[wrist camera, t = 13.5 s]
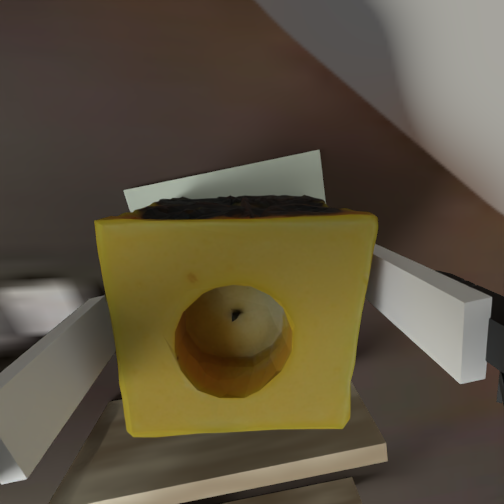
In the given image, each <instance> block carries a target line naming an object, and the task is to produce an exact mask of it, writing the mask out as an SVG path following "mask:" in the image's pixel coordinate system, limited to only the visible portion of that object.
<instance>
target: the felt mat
mask: <svg viewBox="0 0 504 504" xmlns="http://www.w3.org/2000/svg"><path fill="white" fill-rule="evenodd" d="M123 191H124V194H125V197H126V200H127V203H128V206H129V209H130V212H133V211H134V210H137V209H141V208H144V207H146V206H149V205H151V204H152V203H153V202H157V201H159V200H160V199H172V198H180V197H186V198H189V199H204V198H217V197H219V196H220V197H228V196H230V195H231V196H233V197H238V196H244V195H247V196H265V195H276V196H280V195H289V196H303V195H306V196H310V197H314V198H319V199H323V200H324V201H325V204H326V200H325V192H324V183H323V175H322V167H321V158H320V150H315V151H310V152H306V153H301V154H296V155H291V156H286V157H281V158H277V159H272V160H267V161H262V162H257V163H253V164H248V165H243V166H238V167H233V168H228V169H224V170H219V171H214V172H209V173H204V174H200V175H195V176H190V177H185V178H180V179H176V180H171V181H166V182H161V183H156V184H151V185H147V186H142V187H137V188H132V189H127V190H123Z"/></svg>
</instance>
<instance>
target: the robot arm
mask: <svg viewBox="0 0 504 504" xmlns="http://www.w3.org/2000/svg"><path fill="white" fill-rule="evenodd" d="M365 298H366V299H367V300H368V301H369V302H370V303H371V304H372V305H373V306H375V307H376V308H377V309H378V310H379V311H380V312H381V313H382V314H383V315H385V316H386V317H387V318H388V319H389V320H390V321H391V322H392V323H393V324H394V325H396V326H397V327H398V328H399V329H400V330H401V331H402V332H403V333H404V334H406V335H407V336H408V337H409V338H410V339H411V340H412V341H413V342H414V343H416V344H417V345H418V346H419V347H420V348H421V349H422V350H423V351H424V352H425V353H427V354H428V355H429V356H430V357H431V358H432V359H433V360H434V361H435V362H437V363H438V364H439V365H440V366H441V367H442V368H443V369H444V370H445V371H447V372H448V373H449V374H450V375H451V376H452V377H453V378H454V379H455V380H456V381H458V382H459V383H460V384H463V383H468V382H472V381H477V380H482V379H485V376H486V364H487V362H488V363H490V364H491V365H493V366H494V367H495V368H497V369H498V370H499V371H500V375H499V384H498V393H497V402H499V403H502V401H503V405H504V296H501V295H499V294H497V293H494V292H492V291H490V290H487V289H485V288H483V287H481V286H478V285H476V286H475V284H474V283H471V282H469V281H465V280H464V279H462V278H460V277H457V276H455V275H453V274H450V273H445V272H441V271H437V270H435V271H434V270H432V269H430V268H427V267H425V266H423V265H421V264H419V263H416V262H414V261H412V260H410V259H408V258H405V257H403V256H401V255H399V254H397V253H394V252H392V251H390V250H388V249H386V248H384V247H381V246H379V245H377V244H375V247H374V252H373V257H372V263H371V269H370V275H369V280H368V285H367V290H366V295H365ZM115 351H116V347H115V341H114V335H113V329H112V324H111V318H110V312H109V307H108V303H107V300H106V298H105V295H104V296H100V297H95V298H90V299H89V300H88V301H86V302H85V303H84V304H83V305H82V306H80V307H79V308H78V309H77V310H75V311H74V312H73V313H72V314H71V315H69V316H68V317H67V318H66V319H65V320H63V321H62V322H61V323H60V324H59V325H57V326H56V327H55V328H54V329H53V330H51V331H50V332H49V333H48V334H47V335H45V336H44V337H43V338H42V339H40V340H39V341H38V342H37V343H36V344H34V345H33V346H32V347H31V348H30V349H28V350H27V351H26V352H25V353H24V354H22V355H21V356H20V357H19V358H18V359H16V360H15V361H14V362H13V363H12V364H10V365H9V366H8V367H7V368H5V369H4V370H3V371H2V372H1V373H0V483H1V485H2V484H6V483H11V482H16V481H20V480H25V479H28V477H29V476H30V474H31V473H32V471H33V470H34V468H35V467H36V466H37V464H38V463H39V461H40V460H41V458H42V457H43V455H44V454H45V452H46V451H47V450H48V448H49V447H50V445H51V444H52V442H53V441H54V439H55V438H56V437H57V435H58V434H59V432H60V431H61V429H62V428H63V426H64V425H65V423H66V422H67V421H68V419H69V418H70V416H71V415H72V413H73V412H74V410H75V409H76V408H77V406H78V405H79V403H80V402H81V400H82V399H83V397H84V396H85V394H86V393H87V392H88V390H89V389H90V387H91V386H92V384H93V383H94V381H95V380H96V379H97V377H98V376H99V374H100V373H101V371H102V370H103V368H104V367H105V365H106V364H107V363H108V361H109V360H110V358H111V357H112V355H113V354H114V352H115Z"/></svg>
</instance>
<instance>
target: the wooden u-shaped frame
mask: <svg viewBox="0 0 504 504" xmlns="http://www.w3.org/2000/svg"><path fill="white" fill-rule="evenodd" d="M350 385H351V413H350V420H349V421H348V422H347V424H346V425H345V427H344V428H343V429H278V430H261V431H244V432H227V433H198V434H188V435H177V436H166V437H133V436H131V435H130V434H129V433H128V432H127V429H126V423H125V416H124V409H123V402H122V399H121V400H116V401H111V402H109V403H108V405H107V406H106V408H105V410H104V411H103V413H102V415H101V416H100V418H99V420H98V421H97V423H96V425H95V426H94V428H93V430H92V431H91V433H90V435H89V436H88V438H87V440H86V441H85V443H84V445H83V446H82V448H81V450H80V451H79V453H78V455H77V456H76V458H75V460H74V461H73V463H72V465H71V466H70V468H69V470H68V472H67V473H66V475H65V477H64V478H63V480H62V482H61V483H60V485H59V487H58V488H57V490H56V492H55V493H54V495H53V497H52V498H51V500H50V502H49V503H48V504H179V503H184V502H189V501H194V500H199V499H204V498H209V497H214V496H219V495H224V494H228V493H233V492H238V491H243V490H248V489H253V488H258V487H263V486H268V485H273V484H278V483H283V482H288V481H292V480H297V479H302V478H307V477H312V476H317V475H322V474H327V473H332V472H337V471H342V470H347V469H351V468H356V467H361V466H366V465H371V464H376V463H381V462H386V461H388V460H387V447H386V442H385V440H384V438H383V436H382V435H381V433H380V431H379V429H378V428H377V426H376V424H375V422H374V421H373V419H372V417H371V415H370V414H369V412H368V410H367V408H366V407H365V405H364V403H363V401H362V400H361V398H360V396H359V394H358V393H357V391H356V389H355V387H354V386H353V384H352V382H350ZM222 504H362V502H361V499H360V496H359V494H358V491H357V489H356V486H355V484H354V481H353V478H352V477H349V478H345V479H340V480H335V481H330V482H325V483H320V484H315V485H310V486H305V487H300V488H295V489H290V490H285V491H281V492H276V493H271V494H266V495H261V496H256V497H251V498H246V499H241V500H236V501H231V502H226V503H222Z"/></svg>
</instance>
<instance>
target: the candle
mask: <svg viewBox="0 0 504 504" xmlns="http://www.w3.org/2000/svg"><path fill="white" fill-rule="evenodd" d="M94 223H95V232H96V241H97V249H98V255H99V260H100V266H101V272H102V277H103V283H104V288H105V293H106V298H107V302H108V307H109V312H110V318H111V324H112V329H113V335H114V341H115V347H116V355H117V363H118V373H119V385H120V390H121V395H122V402H123V409H124V416H125V423H126V429H127V432H128V433H129V434H130V435H131V436H133V437H166V436H177V435H188V434H198V433H227V432H244V431H261V430H278V429H343V428H344V427H345V425H346V424H347V422H348V421H349V420H350V413H351V385H350V382H351V378H352V374H353V370H354V365H355V358H356V349H357V341H358V335H359V328H360V322H361V315H362V310H363V305H364V300H365V295H366V290H367V285H368V280H369V275H370V269H371V263H372V257H373V252H374V247H375V242H376V237H377V231H378V217H376V216H375V215H373V214H372V213H370V212H362V211H353V210H350V209H347V208H342V209H336V208H329V207H328V206H327V205H326V204H325V201H324V200H323V199H319V198H314V197H310V196H306V195H303V196H289V195H280V196H276V195H265V196H247V195H244V196H238V197H233V196H231V195H230V196H228V197H220V196H219V197H217V198H204V199H189V198H186V197H180V198H172V199H160V200H159V201H157V202H153V203H152V204H151V205H149V206H146V207H144V208H141V209H137V210H134V211H133V212H128V213H123V214H121V215H119V216H110V217H106V218H102V219H99V220H95V221H94Z"/></svg>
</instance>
